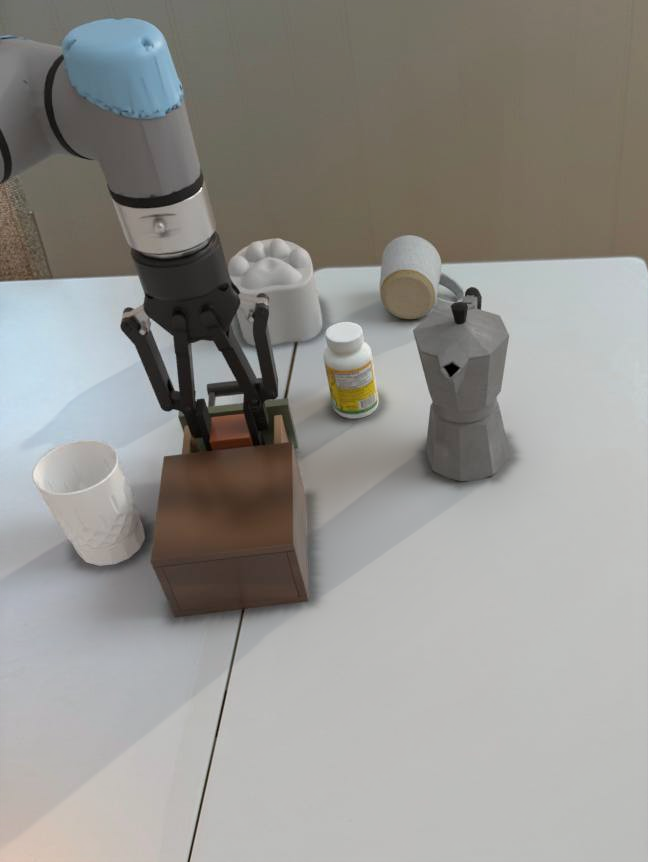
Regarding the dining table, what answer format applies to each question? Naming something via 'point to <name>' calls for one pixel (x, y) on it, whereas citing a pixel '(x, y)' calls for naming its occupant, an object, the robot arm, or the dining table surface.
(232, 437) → the block
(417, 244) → the ceramic mug
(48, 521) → the dining table surface
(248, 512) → the cabinet
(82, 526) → the white cup
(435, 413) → the coffeepot
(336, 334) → the supplement bottle
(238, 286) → the lumpy-topped squat cylinder
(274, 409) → the drawer
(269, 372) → the robot arm
